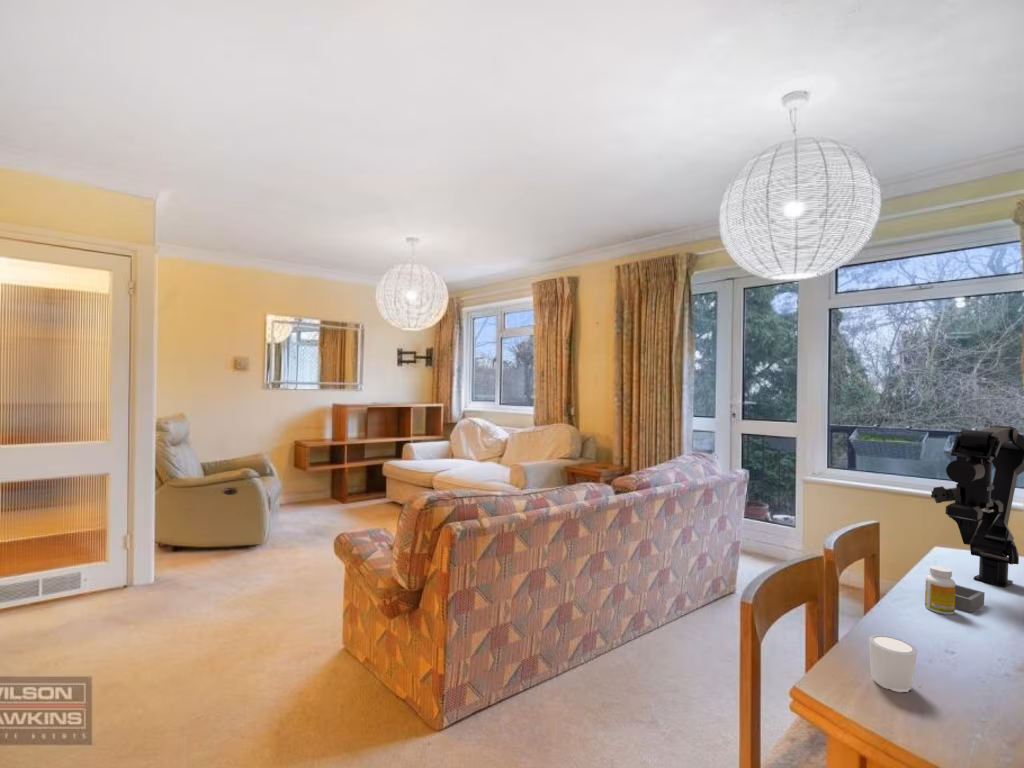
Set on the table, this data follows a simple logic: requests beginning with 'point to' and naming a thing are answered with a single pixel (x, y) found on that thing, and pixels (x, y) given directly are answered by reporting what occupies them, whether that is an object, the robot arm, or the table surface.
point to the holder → (968, 598)
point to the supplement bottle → (940, 591)
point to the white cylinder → (892, 661)
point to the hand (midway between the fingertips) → (973, 541)
